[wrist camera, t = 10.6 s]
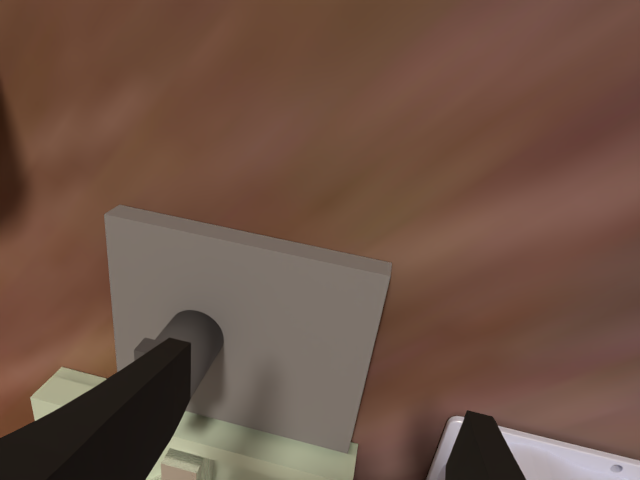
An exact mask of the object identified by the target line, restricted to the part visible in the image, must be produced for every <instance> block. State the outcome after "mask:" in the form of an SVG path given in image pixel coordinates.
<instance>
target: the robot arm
mask: <svg viewBox="0 0 640 480" xmlns="http://www.w3.org/2000/svg"><path fill="white" fill-rule="evenodd" d="M190 400H191V343H190V342H186V341H182V340H178V339H174V338H168V339H166V340H165V341H163V342H162V343H160V344H159V345H157V346H156V347H154V348H153V349H151V350H150V351H148V352H147V353H145V354H144V355H142V356H141V357H139V358H138V359H136V360H135V361H134V362H132V363H131V364H129V365H128V366H126V367H125V368H123V369H122V370H120V371H118V372H117V373H115V374H114V375H112V376H111V377H109V378H108V379H106V380H105V381H103V382H101V383H100V384H98V385H97V386H95V387H94V388H92V389H90V390H89V391H87V392H85V393H84V394H82V395H80V396H79V397H77V398H75V399H73V400H72V401H70V402H68V403H67V404H65V405H63V406H62V407H60V408H58V409H56V410H55V411H53V412H51V413H49V414H47V415H45V416H44V417H42V418H40V419H38V420H36V421H34V422H32V423H30V424H28V425H26V426H24V427H22V428H20V429H18V430H16V431H14V432H12V433H10V434H8V435H6V436H4V437H2V438H0V480H146V478H147V477H148V475H149V474H150V472H151V470H152V469H153V467H154V466H155V464H156V462H157V461H158V459H159V458H160V456H161V455H162V453H163V451H164V450H165V448H166V447H167V445H168V443H169V442H170V440H171V438H172V437H173V435H174V433H175V431H176V429H177V427H178V425H179V423H180V421H181V419H182V417H183V415H184V412H185V410H186V408H187V406H188V404H189V402H190ZM426 480H640V461H639V460H635V459H630V458H626V457H622V456H618V455H614V454H610V453H606V452H602V451H598V450H594V449H590V448H586V447H582V446H578V445H574V444H570V443H566V442H562V441H558V440H554V439H550V438H546V437H542V436H537V435H533V434H529V433H525V432H521V431H517V430H513V429H509V428H505V427H501V426H498V425H497V423H496V421H495V420H494V418H493V417H492V416H488V415H484V414H480V413H476V412H471V411H467V412H466V415H465V417H461V416H454V417H451V418H449V420H448V421H447V424H446V427H445V430H444V432H443V435H442V438H441V440H440V443H439V446H438V449H437V451H436V454H435V457H434V459H433V462H432V465H431V468H430V470H429V473H428V476H427V478H426Z"/></svg>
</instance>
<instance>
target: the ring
mask: <svg viewBox="0 0 640 480" xmlns="http://www.w3.org/2000/svg"><path fill="white" fill-rule="evenodd" d="M149 480H213V460H212V459H208V458H204V457H201V456H197V455H193V454H190V453H186V452H182V451H179V450H175V449H172V448H170V449H169V450H168V452H167V454H166V455H165V457H164V459H163V461H162V462H161V474H160V475H158V476H156V477H153V478H151V479H149Z"/></svg>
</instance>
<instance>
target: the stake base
mask: <svg viewBox="0 0 640 480" xmlns="http://www.w3.org/2000/svg"><path fill="white" fill-rule="evenodd" d="M104 219H105V230H106V242H107V254H108V266H109V278H110V290H111V301H112V313H113V325H114V337H115V349H116V361H117V372H118V371H120V370H122V369H123V368H125V367H126V366H128V365H129V364H131V363H132V362H134V361H135V360H136V359H138V358H139V357H141V356H142V355H144V354H145V353H147V352H148V351H150V350H151V349H153V348H154V347H156V346H157V345H159V344H160V343H162V342H163V341H165V340H166V339H168V338H174V339H178V340H182V341H186V342H190V343H191V400H190V402H189V404H188V406H187V408H186V410H185V411H187V412H191V413H195V414H198V415H202V416H206V417H210V418H214V419H217V420H221V421H225V422H229V423H233V424H236V425H240V426H244V427H248V428H252V429H255V430H259V431H263V432H267V433H270V434H274V435H278V436H282V437H286V438H289V439H293V440H297V441H301V442H305V443H308V444H312V445H316V446H320V447H324V448H327V449H331V450H335V451H339V452H343V453H346V454H348V451H349V447H350V443H351V438H352V434H353V430H354V426H355V422H356V418H357V413H358V409H359V405H360V401H361V397H362V393H363V389H364V384H365V380H366V376H367V372H368V368H369V364H370V359H371V355H372V351H373V347H374V343H375V339H376V335H377V330H378V326H379V322H380V318H381V314H382V310H383V305H384V301H385V297H386V293H387V289H388V285H389V280H390V276H391V267H392V263H390V262H385V261H381V260H376V259H371V258H367V257H362V256H357V255H353V254H348V253H343V252H339V251H334V250H329V249H325V248H320V247H315V246H310V245H306V244H301V243H296V242H292V241H287V240H282V239H278V238H273V237H268V236H264V235H259V234H254V233H250V232H245V231H240V230H236V229H231V228H226V227H221V226H217V225H212V224H207V223H203V222H198V221H193V220H189V219H184V218H179V217H175V216H170V215H165V214H161V213H156V212H151V211H146V210H142V209H137V208H132V207H128V206H123V205H118V206H117V207H115V208H114V209H112V210H110V211H109V212H107V213H105V214H104Z"/></svg>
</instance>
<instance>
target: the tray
mask: <svg viewBox="0 0 640 480" xmlns="http://www.w3.org/2000/svg"><path fill="white" fill-rule="evenodd" d="M105 380H106V378H102V377H98V376H95V375H91V374H87V373H83V372H79V371H75V370H72V369H68V368H64V367H61V368H60V369H59V370H58V371H57V372H56V373H55V374H54V375H53V376H52V377H51V378H50V379H49V380H48V381H47V382H46V383H45V384H44V385H43V386H42V387H41V388H40V389H38V390H37V391H36V392H35V393H34V394H33V395H32V396H31V397H30V398H31V403H32V408H33V413H34V418H35V421H36V420H38V419H40V418H42V417H44V416H45V415H47V414H49V413H51V412H53V411H55V410H56V409H58V408H60V407H62V406H63V405H65V404H67V403H68V402H70V401H72V400H73V399H75V398H77V397H79V396H80V395H82V394H84V393H85V392H87V391H89V390H90V389H92V388H94V387H95V386H97V385H98V384H100V383H101V382H103V381H105ZM170 448H172V449H175V450H179V451H182V452H186V453H190V454H193V455H197V456H201V457H204V458H208V459H212V460H213V480H353V477H354V470H355V463H356V456H357V449H358V444H356V443H352V442H351V443H350V447H349V451H348V454H346V453H343V452H339V451H335V450H331V449H327V448H324V447H320V446H316V445H312V444H308V443H305V442H301V441H297V440H293V439H289V438H286V437H282V436H278V435H274V434H270V433H267V432H263V431H259V430H255V429H252V428H248V427H244V426H240V425H236V424H233V423H229V422H225V421H221V420H217V419H214V418H210V417H206V416H202V415H198V414H195V413H191V412H187V411H185V412H184V415H183V417H182V419H181V421H180V423H179V425H178V427H177V429H176V431H175V433H174V435H173V437H172V438H171V440H170V442H169V443H168V445H167V447H166V448H165V450H164V451H163V453H162V455H161V456H160V458H159V459H158V461H157V462H156V464H155V466H154V467H153V469H152V470H151V472H150V474H149V475H148V477H147V478H146V480H149V479H151V478H153V477H156V476H158V475H160V474H161V462H162V461H163V459H164V457H165V455H166V454H167V452H168V450H169V449H170Z"/></svg>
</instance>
